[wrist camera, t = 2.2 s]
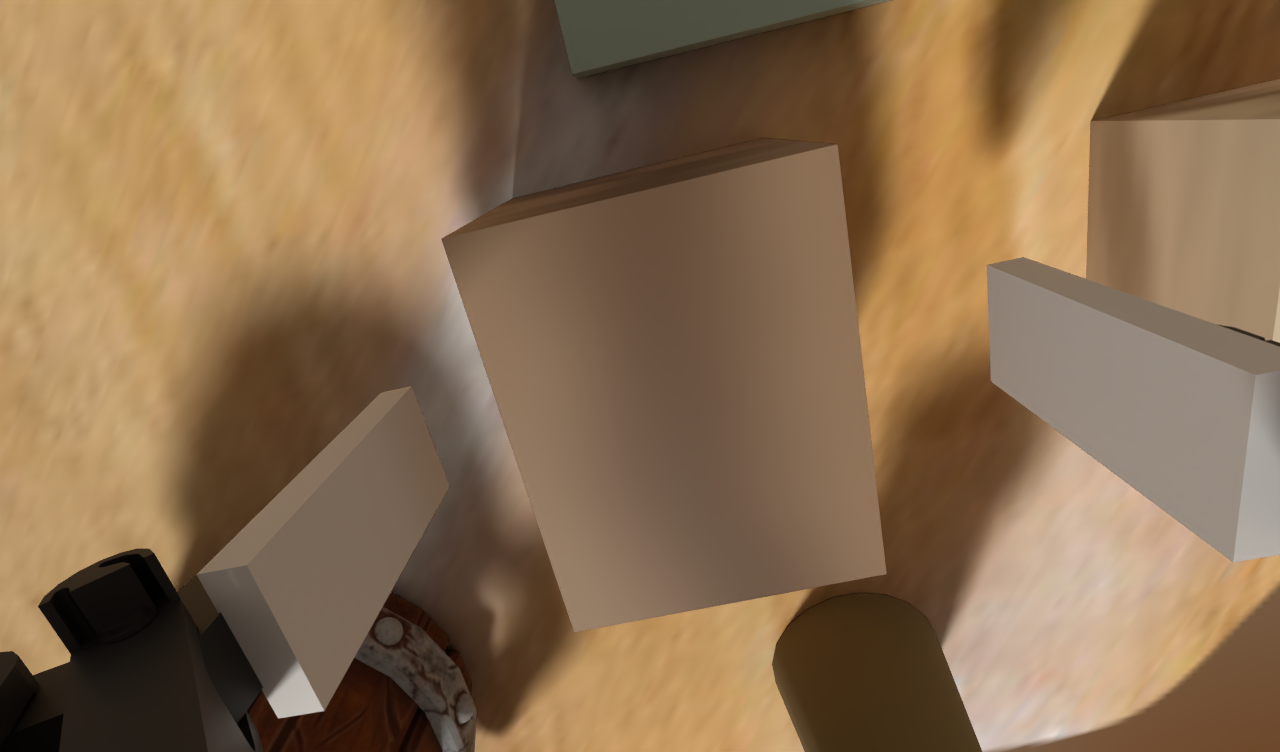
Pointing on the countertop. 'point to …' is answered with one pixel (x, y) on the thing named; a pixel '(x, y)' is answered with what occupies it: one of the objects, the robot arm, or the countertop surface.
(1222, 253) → the maple cap block
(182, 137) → the countertop surface
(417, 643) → the mug
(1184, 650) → the countertop surface
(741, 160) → the walnut brick
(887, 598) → the olive pepper shaker
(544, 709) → the countertop surface
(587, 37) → the baseplate
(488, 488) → the countertop surface
